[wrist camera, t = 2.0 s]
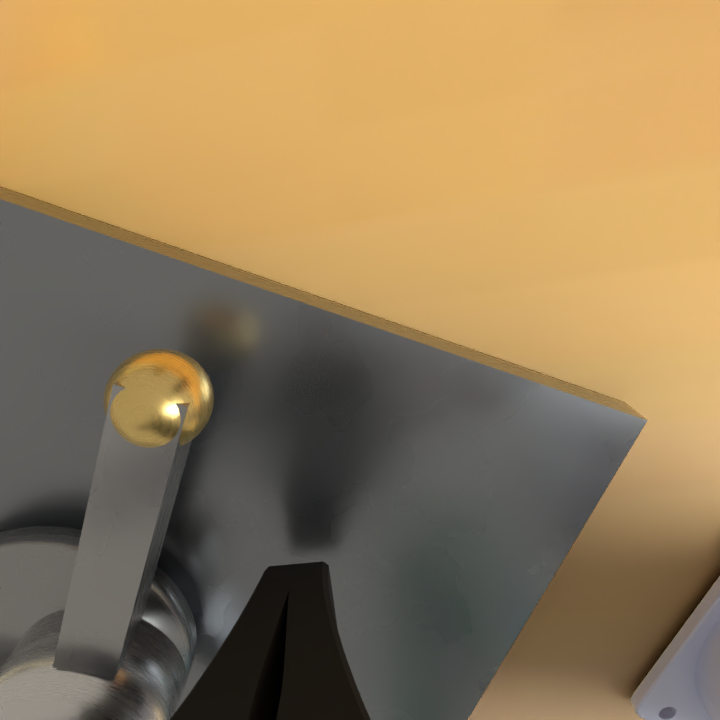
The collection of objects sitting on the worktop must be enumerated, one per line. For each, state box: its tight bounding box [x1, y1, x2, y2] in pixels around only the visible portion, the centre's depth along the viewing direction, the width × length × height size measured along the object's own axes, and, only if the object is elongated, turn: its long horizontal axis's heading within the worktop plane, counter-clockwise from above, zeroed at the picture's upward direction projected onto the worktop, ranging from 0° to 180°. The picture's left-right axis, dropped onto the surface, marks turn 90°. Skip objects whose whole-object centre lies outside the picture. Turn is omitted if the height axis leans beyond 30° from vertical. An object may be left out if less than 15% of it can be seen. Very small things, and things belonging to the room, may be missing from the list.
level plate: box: [0, 187, 647, 720], centre depth 13 cm, size 20×20×2 cm
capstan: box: [0, 349, 214, 720], centre depth 11 cm, size 16×14×3 cm
